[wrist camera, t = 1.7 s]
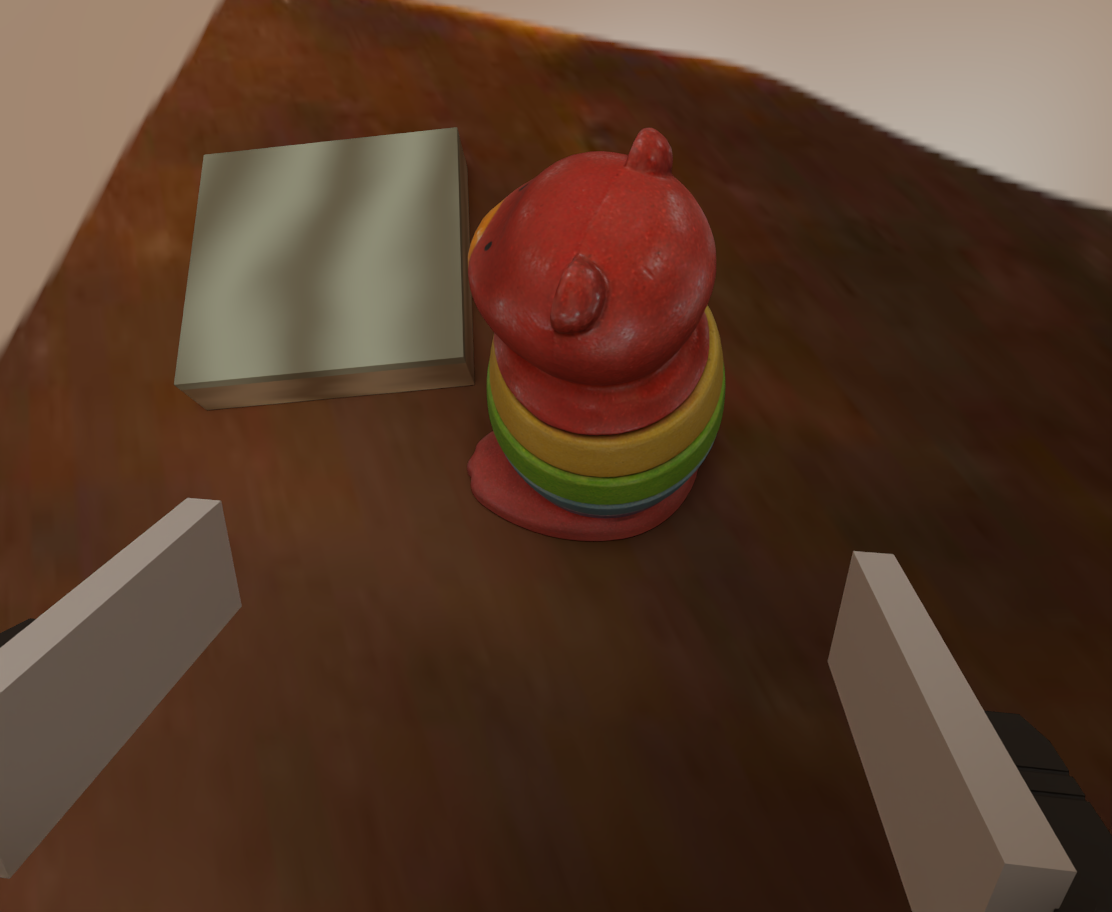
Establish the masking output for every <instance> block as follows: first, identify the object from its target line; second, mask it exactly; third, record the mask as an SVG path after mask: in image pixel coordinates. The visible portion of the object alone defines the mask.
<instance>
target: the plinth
mask: <svg viewBox="0 0 1112 912" xmlns="http://www.w3.org/2000/svg"><path fill="white" fill-rule="evenodd" d="M469 248H470V234H469V204H468V174H467V164H466V161H465V157H464V153H463V149H462V145H461V141H460V137H459V133H458V129H457V127H456V128H447V129H437V130H428V131H419V132H410V133H401V134H392V135H382V136H373V137H364V138H355V139H346V140H337V141H327V142H318V143H309V144H300V145H291V146H282V147H272V148H263V149H254V150H245V151H236V152H227V153H217V154H208V155H204V159H203V166H202V174H201V182H200V189H199V197H198V205H197V212H196V220H195V228H194V235H193V243H192V251H191V258H190V266H189V274H188V281H187V289H186V297H185V304H184V312H183V320H182V327H181V335H180V343H179V350H178V358H177V365H176V373H175V381H174V385H175V386H176V387H177V388H179V389H180V390H181V391H183V392H184V393H185V394H187V395H188V396H189V397H190V398H192V399H193V400H194V401H196V402H197V403H198V404H199V405H201V406H202V407H203V408H205V409H206V410H215V409H225V408H236V407H246V406H257V405H268V404H278V403H289V402H299V401H310V400H321V399H331V398H342V397H352V396H363V395H374V394H384V393H395V392H405V391H416V390H426V389H437V388H448V387H458V386H469V385H475V384H474V354H473V324H472V294H471V290H470V285H469V278H468V252H469Z"/></svg>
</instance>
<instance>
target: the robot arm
mask: <svg viewBox="0 0 1112 912" xmlns="http://www.w3.org/2000/svg"><path fill="white" fill-rule="evenodd" d="M240 608H241V601H240V595H239V590H238V585H237V580H236V575H235V570H234V565H233V560H232V554H231V549H230V544H229V539H228V534H227V529H226V524H225V519H224V513H223V508H222V503H221V501H218V500H206V499H193V498H187V499H185V500H184V501H183V502H182V503H180V504H179V505H178V506H177V507H175V508H174V509H173V510H172V511H170V512H169V513H168V514H167V515H165V516H164V517H163V518H162V519H161V520H159V521H158V522H157V523H156V524H154V525H153V526H152V527H151V528H149V529H148V530H147V531H146V532H144V533H143V534H142V535H141V536H139V537H138V538H137V539H136V540H134V541H133V542H132V543H131V544H129V545H128V546H127V547H126V548H124V549H123V550H122V551H121V552H119V553H118V554H117V555H116V556H114V557H113V558H112V559H111V560H109V561H108V562H107V563H106V564H104V565H103V566H102V567H101V568H99V569H98V570H97V571H96V572H94V573H93V574H92V575H91V576H89V577H88V578H87V579H86V580H84V581H83V582H82V583H81V584H79V585H78V586H77V587H76V588H74V589H73V590H72V591H71V592H69V593H68V594H67V595H66V596H64V597H63V598H62V599H61V600H59V601H58V602H57V603H56V604H54V605H53V606H52V607H51V608H49V609H48V610H47V611H46V612H44V613H43V614H42V615H41V616H39V617H38V618H37V619H28V620H26V621H24V622H22V623H20V624H18V625H16V626H14V627H12V628H10V629H8V630H6V631H4V632H2V633H0V877H2V878H11V877H12V875H13V874H14V873H15V872H16V871H17V869H18V868H19V867H20V866H21V865H22V864H23V862H24V861H25V860H26V859H27V858H28V857H29V855H30V854H31V853H32V852H33V851H34V849H35V848H36V847H37V846H38V845H39V844H40V842H41V841H42V840H43V839H44V838H45V837H46V835H47V834H48V833H49V832H50V831H51V830H52V828H53V827H54V826H55V825H56V824H57V822H58V821H59V820H60V819H61V818H62V817H63V815H64V814H65V813H66V812H67V811H68V810H69V808H70V807H71V806H72V805H73V804H74V803H75V801H76V800H77V799H78V798H79V797H80V795H81V794H82V793H83V792H84V791H85V790H86V788H87V787H88V786H89V785H90V784H91V783H92V781H93V780H94V779H95V778H96V777H97V775H98V774H99V773H100V772H101V771H102V770H103V768H104V767H105V766H106V765H107V764H108V763H109V761H110V760H111V759H112V758H113V757H114V756H115V754H116V753H117V752H118V751H119V750H120V748H121V747H122V746H123V745H124V744H125V743H126V741H127V740H128V739H129V738H130V737H131V736H132V734H133V733H134V732H135V731H136V730H137V728H138V727H139V726H140V725H141V724H142V723H143V721H144V720H145V719H146V718H147V717H148V716H149V714H150V713H151V712H152V711H153V710H154V709H155V707H156V706H157V705H158V704H159V703H160V701H161V700H162V699H163V698H164V697H165V696H166V694H167V693H168V692H169V691H170V690H171V689H172V687H173V686H174V685H175V684H176V683H177V682H178V680H179V679H180V678H181V677H182V676H183V674H184V673H185V672H186V671H187V670H188V669H189V667H190V666H191V665H192V664H193V663H194V662H195V660H196V659H197V658H198V657H199V656H200V654H201V653H202V652H203V651H204V650H205V649H206V647H207V646H208V645H209V644H210V643H211V642H212V640H213V639H214V638H215V637H216V636H217V635H218V633H219V632H220V631H221V630H222V629H223V627H224V626H225V625H226V624H227V623H228V622H229V620H230V619H231V618H232V617H233V616H234V615H235V613H236V612H237V611H238V610H239V609H240ZM828 664H829V667H830V670H831V673H832V676H833V679H834V682H835V685H836V688H837V691H838V694H839V696H840V699H841V702H842V705H843V708H844V711H845V714H846V717H847V720H848V723H849V726H850V729H851V732H852V735H853V738H854V741H855V744H856V747H857V750H858V753H859V756H860V759H861V762H862V765H863V768H864V771H865V773H866V776H867V779H868V782H869V785H870V788H871V791H872V794H873V797H874V800H875V803H876V806H877V809H878V812H879V815H880V818H881V821H882V824H883V827H884V830H885V833H886V836H887V839H888V842H889V845H890V848H891V850H892V853H893V856H894V859H895V862H896V865H897V868H898V871H899V874H900V877H901V880H902V883H903V886H904V889H905V892H906V895H907V898H908V901H909V904H910V907H911V910H912V912H1112V836H1111V834H1110V833H1109V831H1108V830H1107V828H1106V827H1105V825H1104V823H1103V822H1102V820H1101V819H1100V817H1099V816H1098V814H1097V813H1096V811H1095V810H1094V808H1093V807H1092V805H1091V804H1090V802H1086V800H1085V795H1084V793H1083V791H1082V790H1081V788H1080V787H1079V785H1078V784H1077V782H1076V781H1075V779H1074V778H1073V777H1070V776H1069V770H1068V769H1067V767H1066V766H1065V764H1064V762H1063V761H1062V759H1061V758H1060V756H1059V755H1058V753H1057V752H1056V750H1055V749H1054V747H1053V746H1052V744H1051V743H1050V741H1049V740H1048V739H1046V738H1045V737H1044V736H1043V735H1042V734H1041V733H1040V732H1038V731H1037V730H1036V729H1035V728H1034V727H1033V726H1032V725H1031V724H1029V723H1028V722H1027V721H1026V720H1025V719H1024V718H1023V717H1021V716H1020V715H1019V714H1011V713H1001V712H991V711H984V710H983V708H982V707H981V705H980V703H979V701H978V700H977V698H976V696H975V694H974V693H973V691H972V689H971V688H970V686H969V684H968V682H967V681H966V679H965V677H964V675H963V674H962V672H961V670H960V669H959V667H958V665H957V663H956V662H955V660H954V658H953V656H952V655H951V653H950V651H949V649H948V648H947V646H946V644H945V643H944V641H943V639H942V637H941V636H940V634H939V632H938V630H937V629H936V627H935V625H934V624H933V622H932V620H931V618H930V617H929V615H928V613H927V611H926V610H925V608H924V606H923V604H922V603H921V601H920V599H919V598H918V596H917V594H916V592H915V591H914V589H913V587H912V585H911V584H910V582H909V580H908V578H907V577H906V575H905V573H904V572H903V570H902V568H901V566H900V565H899V563H898V561H897V559H896V558H895V556H894V554H883V553H871V552H858V551H853V554H852V558H851V563H850V567H849V571H848V576H847V580H846V584H845V589H844V593H843V597H842V602H841V606H840V610H839V615H838V619H837V623H836V628H835V632H834V636H833V641H832V645H831V649H830V654H829V658H828Z"/></svg>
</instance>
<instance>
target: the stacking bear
mask: <svg viewBox="0 0 1112 912" xmlns="http://www.w3.org/2000/svg"><path fill="white" fill-rule="evenodd" d="M672 163H673V156H672V150H671V147H670V145H669V143H668V141H667V139H666V138H665V137H664V136H663V135H662V134H661V133H659V132H658V131H657V130H655V129H653V128H644V129H642V130H641V131H640V132H639V133H638V135H637V137H636V139H635V141H634V143H633V145H632V148H631V150H630V153H629V155H625V154H619V153H614V152H603V151H597V152H586V153H581V154H575V155H572V156H569V157H566V158H564V159H562V160H559V161H557V162H555V163H554V164H553V165H551V166H550V167H548V168H547V169H545V170H544V171H543V172H542V173H540V174H539V175H538V176H537V177H535V178H534V179H532V180H531V181H529V182H527V183H526V184H524V185H522V186H521V187H519V188H518V189H516V190H515V191H513V192H512V193H511V194H510V195H509V196H507V197H506V198H505V199H504V200H503V201H502V202H500V203H499V204H498V205H497V206H495V207H494V208H493V209H492V210H491V211H490V212H489V213H488V214H487V215H486V216H485V217H484V218H483V219H482V221H481V223H480V224H479V226H478V228H477V229H476V230H475V234H474V236H473V238H472V242H471V244H470V248H469V252H468V278H469V285H470V290H471V293H472V296H473V299H474V302H475V304H476V306H477V308H478V310H479V312H480V313H481V315H482V317H483V318H484V320H485V321H486V322H487V324H488V325H489V326H490V328H491V329H492V330H493V331H494V337H493V342H492V346H491V354H490V360H489V365H488V372H487V403H488V412H489V417H490V421H491V425H492V428H493V431H492V432H490V433H489V434H488V435H486V436H485V437H484V438H483V439H482V440H481V441H479V443H478V444H477V446H476V450H475V452H474V454H473V455H472V457H471V458H470V460H469V462H468V465H467V471H468V475H469V476H470V477H471V490H472V493H473V495H474V496H475V497H476V499H477V500H478V501H479V502H480V503H481V504H482V505H483V506H485V507H486V508H488V509H489V510H491V511H492V512H494V513H495V514H497V515H498V516H500V517H502V518H504V519H505V520H507V521H509V522H511V523H514V524H516V525H518V526H520V527H523V528H526V529H528V530H531V531H533V532H537V533H540V534H544V535H547V536H552V537H557V538H562V539H569V540H579V541H607V540H616V539H624V538H628V537H633V536H636V535H639V534H642V533H644V532H646V531H649V530H651V529H652V528H654V527H656V526H658V525H659V524H661V523H662V522H664V521H665V520H666V519H667V518H669V517H670V516H671V515H672V514H673V513H674V512H675V511H676V510H677V509H678V508H679V507H680V505H681V504H682V503H683V501H684V500H685V499H686V497H687V495H688V494H689V492H690V490H691V488H692V486H693V484H694V481H695V479H696V476H697V472H698V468H699V466H700V465H701V464H702V462H703V461H704V459H705V458H706V456H707V455H708V453H709V451H710V449H711V447H712V445H713V443H714V440H715V438H716V435H717V432H718V430H719V426H720V423H721V419H722V414H723V409H724V400H725V369H724V363H723V354H722V347H721V341H720V336H719V332H718V329H717V325H716V322H715V320H714V317H713V315H712V312H711V311H710V309H709V307H708V305H707V304H708V301H709V299H710V296H711V294H712V290H713V286H714V281H715V275H716V249H715V243H714V238H713V235H712V232H711V229H710V226H709V224H708V221H707V219H706V217H705V215H704V213H703V211H702V210H701V208H700V206H699V205H698V203H697V201H696V200H695V198H694V197H693V196H692V194H691V193H690V192H689V191H688V190H687V189H686V188H685V186H684V185H683V184H682V183H680V182H679V181H678V180H677V179H676V178H675V177H674V176H673V175H672V173H671V169H672Z"/></svg>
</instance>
